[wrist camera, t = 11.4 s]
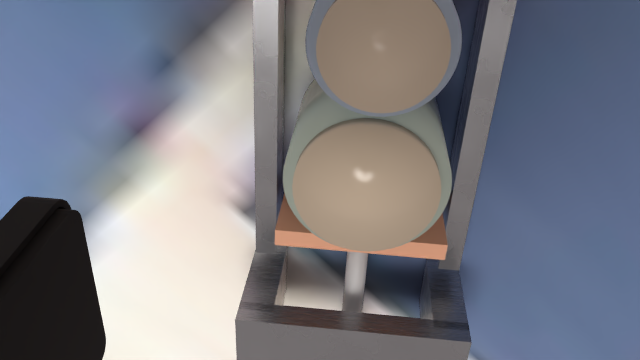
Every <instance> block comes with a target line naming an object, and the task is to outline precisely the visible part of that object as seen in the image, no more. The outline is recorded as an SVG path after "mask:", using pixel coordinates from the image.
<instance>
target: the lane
mask: <svg viewBox="0 0 640 360" xmlns="http://www.w3.org/2000/svg"><path fill="white" fill-rule="evenodd" d="M516 2H517V0H479V6H478V11H477V17H476V22H475V28H474V33H473V39H472V44H471V50H470V55H469V60H468V66H467V71H466V77H465V82H464V88H463V93H462V99H461V104H460V110H459V115H458V121H457V126H456V132H455V137H454V143H453V148H452V154H451V159H450V167H451V172H452V186H451V193H450V197H449V200H448V203H447V205H446V207H445V209H444V211H443V219H444V225H445V231H446V237H447V244H448V247H447V252H446V257H445V260H439V259H437V260H436V259H426V265H425V270H424V276H423V282H422V287H421V293H420V299H419V307H420V318H410V317H400V316H389V315H379V314H368V313H357V312H347V311H336V310H325V309H315V308H304V307H294V306H283V303H284V298H285V293H286V276H287V246H279V245H275V228H276V224H277V220H278V216H279V212H280V208H281V204H282V180H283V112H284V44H285V0H253V53H254V129H255V205H256V250H255V254H254V257H253V260H252V264H251V267H250V271H249V274H248V278H247V281H246V285H245V288H244V291H243V295H242V298H241V302H240V305H239V309H238V312H237V316H236V319H235V325H236V351H237V360H467V358H468V354H469V350H470V346H471V337H470V331H469V325H468V320H467V314H466V309H465V303H464V297H463V292H462V286H461V280H460V275H459V268H460V263H461V258H462V254H463V249H464V244H465V240H466V235H467V231H468V226H469V221H470V217H471V212H472V207H473V203H474V198H475V193H476V189H477V184H478V179H479V175H480V170H481V165H482V161H483V156H484V151H485V147H486V142H487V137H488V133H489V128H490V123H491V119H492V114H493V109H494V105H495V100H496V95H497V91H498V86H499V81H500V77H501V72H502V67H503V63H504V58H505V53H506V49H507V44H508V40H509V35H510V30H511V26H512V21H513V16H514V12H515V7H516Z"/></svg>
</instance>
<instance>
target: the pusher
mask: <svg viewBox="0 0 640 360" xmlns="http://www.w3.org/2000/svg"><path fill="white" fill-rule="evenodd" d="M275 245H281V246H293V247H304V248H315V249H326V250H337V251H347V262H346V273H345V285H344V296H343V307H342V311H347V312H357V313H362V306H363V297H364V288H365V279H366V270H367V261H368V253H371V254H382V255H394V256H405V257H416V258H427V259H439V260H445V257H446V252H447V247H448V244H447V237H446V231H445V225H444V219H443V213H442V214H441V216H440V217H439V219H438V220H437V221H436V222H435V223H434V225H433V226H431V227H430V228H429V229H428V230H427V231H426V232H425V233H423V234H422V235H421V236H419V237H418V238H416V239H414V240H412V241H410V242H408V243H406V244H403V245H401V246H398V247H394V248H391V249H386V250H380V251H356V250H350V249H346V248H342V247H339V246H336V245H333V244H330V243H328V242H326V241H324V240H322V239H320V238H319V237H317V236H316V235H314V234H313V233H311V232H310V231H309V230H308V229H307V228H305V227H304V226H303V224H302V223H301V222H300V221H299V220H298V219H297V217H296V216H295V215H294V213H293V212H292V210H291V208H290V206H289V204H288V202H287V199H286V196H285V193H284V197H283V201H282V204H281V208H280V212H279V216H278V220H277V224H276V228H275Z"/></svg>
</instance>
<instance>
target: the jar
mask: <svg viewBox="0 0 640 360" xmlns="http://www.w3.org/2000/svg"><path fill="white" fill-rule="evenodd" d="M305 41H306V54H307V60H308V63H309V66H310V69H311V72H312V74H313V76H314V78H315V80H316V81H317V83H318V84H319V86H320V87H321V88H322V89H323V91H324V92H325V93H326V94H327V95H328V96H329V97H330V98H331V99H332V100H334V101H335V102H337V103H338V104H339V105H341V106H343V107H345V108H347V109H349V110H351V111H354V112H356V113H360V114H363V115H368V116H375V117H387V116H396V115H400V114H404V113H407V112H410V111H413V110H415V109H417V108H419V107H421V106H423V105H424V104H426V103H427V102H429V101H430V100H432V99H433V98H434V97H435V96H436V95H438V94H439V92H440V91H441V90H442V89H443V88H444V87H445V86H446V84H447V83H448V81H449V80H450V79H451V77H452V75H453V73H454V71H455V69H456V66H457V64H458V61H459V57H460V53H461V46H462V31H461V25H460V20H459V17H458V14H457V11H456V8H455V6H454V4H453V1H452V0H316V2H315V5H314V8H313V10H312V13H311V16H310V19H309V22H308V26H307V30H306V40H305Z"/></svg>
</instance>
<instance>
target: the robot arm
mask: <svg viewBox="0 0 640 360" xmlns="http://www.w3.org/2000/svg"><path fill="white" fill-rule="evenodd" d="M105 346H106V337H105V331H104V326H103V321H102V316H101V311H100V306H99V301H98V296H97V291H96V286H95V282H94V277H93V272H92V267H91V262H90V257H89V252H88V247H87V242H86V237H85V232H84V227H83V222H82V218H81V215H80V213H79V212H78V211H76V210H71V207H70V205H69V204H68V202H67V201H65V200H63V199H52V198H41V197H29V196H28V197H23V198H22V199H21V200H19V201H18V202H17V203H16V204H15V205H14V206H13V207H12V208H11V210H10V211H9V212H8V213H7V214H6V215H5V216H4V217H3V218H2V219H1V220H0V360H102V358H103V355H104V352H105Z"/></svg>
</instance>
